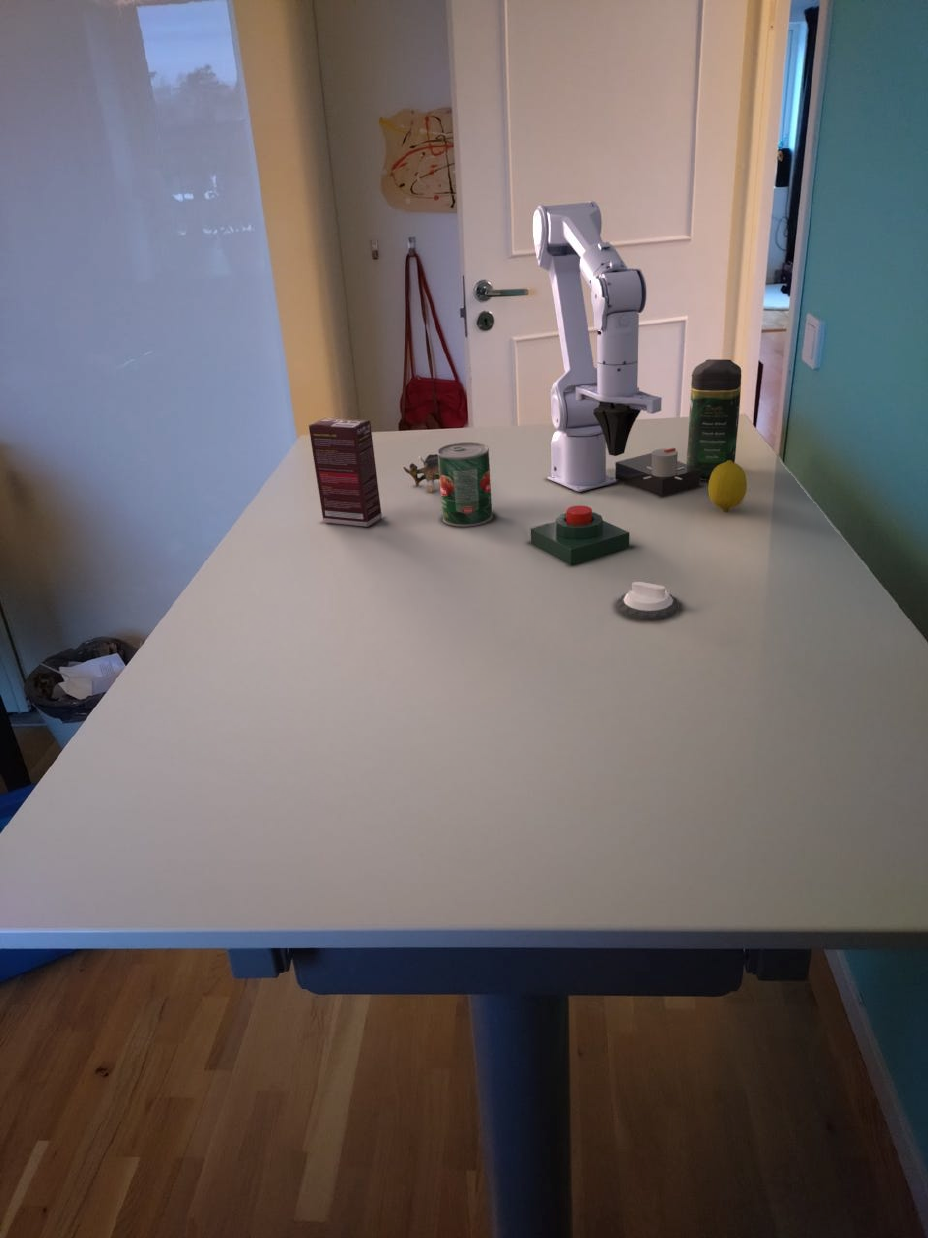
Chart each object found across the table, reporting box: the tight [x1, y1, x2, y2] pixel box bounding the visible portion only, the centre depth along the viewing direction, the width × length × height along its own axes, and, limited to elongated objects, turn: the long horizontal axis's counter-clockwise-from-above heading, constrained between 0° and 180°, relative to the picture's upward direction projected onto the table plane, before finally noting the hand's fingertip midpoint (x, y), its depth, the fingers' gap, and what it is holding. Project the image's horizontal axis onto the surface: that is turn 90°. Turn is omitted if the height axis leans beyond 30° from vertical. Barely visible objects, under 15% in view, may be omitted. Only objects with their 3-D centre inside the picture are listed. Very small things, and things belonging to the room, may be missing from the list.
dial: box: [651, 447, 679, 477], centre depth 143 cm, size 4×4×4 cm
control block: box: [530, 511, 630, 566], centre depth 127 cm, size 10×10×4 cm
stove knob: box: [617, 581, 680, 622], centre depth 108 cm, size 7×7×3 cm
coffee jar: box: [686, 358, 742, 481], centre depth 148 cm, size 10×8×19 cm
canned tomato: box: [436, 441, 494, 528], centre depth 138 cm, size 8×8×11 cm
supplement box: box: [308, 417, 382, 528], centre depth 140 cm, size 9×5×16 cm, turn 65°
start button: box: [565, 504, 593, 525], centre depth 126 cm, size 4×4×2 cm
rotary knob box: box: [614, 452, 701, 498], centre depth 148 cm, size 14×10×3 cm
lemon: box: [707, 460, 748, 513], centre depth 134 cm, size 6×6×8 cm
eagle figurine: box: [403, 453, 440, 493], centre depth 153 cm, size 8×7×9 cm
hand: (616, 453), depth 134 cm, fingers closed
